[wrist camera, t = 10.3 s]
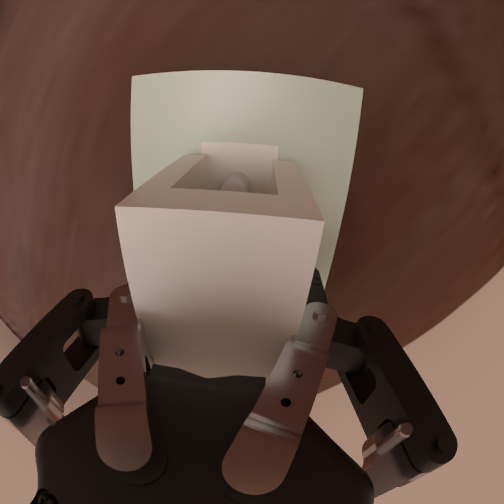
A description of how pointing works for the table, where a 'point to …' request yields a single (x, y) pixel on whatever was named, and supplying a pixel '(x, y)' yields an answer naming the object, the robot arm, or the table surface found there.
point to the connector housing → (219, 267)
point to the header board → (250, 134)
